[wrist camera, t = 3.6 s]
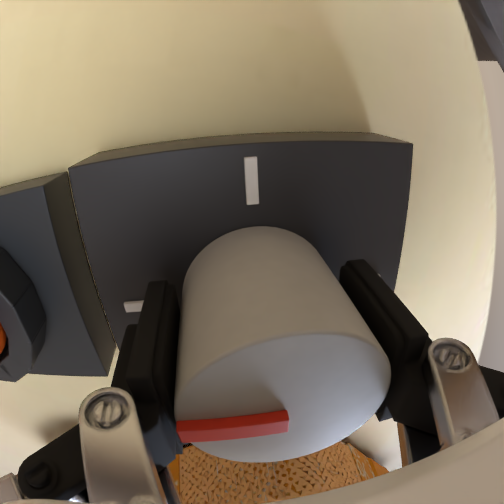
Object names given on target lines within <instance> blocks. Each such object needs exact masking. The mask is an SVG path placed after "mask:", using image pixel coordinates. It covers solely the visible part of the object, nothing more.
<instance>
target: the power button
mask: <svg viewBox="0 0 504 504" xmlns="http://www.w3.org/2000/svg"><path fill="white" fill-rule="evenodd" d="M5 345H6V333H5V331H4V329H3V327H2V325H1V323H0V354H1V352H2V351H3V349H4V347H5Z"/></svg>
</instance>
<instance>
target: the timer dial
mask: <svg viewBox="0 0 504 504" xmlns="http://www.w3.org/2000/svg"><path fill="white" fill-rule="evenodd" d="M390 382H391V367H390V362H389V360H388V357H387V355H386V354H385V352H384V351H383V349H382V347H381V346H380V344H379V343H378V341H377V339H376V338H375V336H374V335H373V333H372V332H371V330H370V329H369V327H368V326H367V324H366V322H365V321H364V319H363V318H362V316H361V315H360V313H359V312H358V310H357V309H356V307H355V306H354V304H353V303H352V301H351V300H350V298H349V297H348V295H347V294H346V292H345V291H344V289H343V288H342V286H341V285H340V283H339V282H338V280H337V279H336V277H335V276H334V275H333V273H332V272H331V270H330V269H329V267H328V266H327V264H326V263H325V261H324V260H323V259H322V257H321V256H320V254H319V253H318V251H317V250H316V249H315V248H314V247H313V246H312V245H311V244H310V243H309V242H308V241H307V240H305V239H304V238H303V237H301V236H299V235H297V234H295V233H293V232H290V231H288V230H285V229H281V228H276V227H268V226H255V227H248V228H242V229H239V230H235V231H232V232H230V233H227V234H225V235H223V236H221V237H219V238H217V239H216V240H214V241H213V242H211V243H210V244H209V245H207V246H206V247H205V248H204V249H203V250H202V251H201V252H200V253H199V254H198V255H197V256H196V258H195V259H194V260H193V262H192V263H191V265H190V267H189V269H188V271H187V273H186V276H185V279H184V284H183V291H182V301H181V311H180V323H179V334H178V347H177V361H176V377H175V395H174V417H175V420H176V432H177V434H178V436H179V438H180V441H181V442H182V443H192V444H193V445H194V446H196V447H197V448H199V449H200V450H202V451H204V452H206V453H209V454H211V455H214V456H217V457H220V458H224V459H228V460H233V461H240V462H275V461H283V460H288V459H293V458H298V457H301V456H305V455H308V454H311V453H314V452H317V451H320V450H322V449H324V448H327V447H329V446H331V445H333V444H335V443H337V442H339V441H341V440H342V439H344V438H346V437H347V436H349V435H350V434H352V433H353V432H354V431H356V430H357V429H358V428H360V427H361V426H362V425H363V424H364V423H366V422H367V421H368V420H369V419H370V418H371V417H372V416H373V414H374V413H375V412H376V411H377V409H378V408H379V407H380V405H381V404H382V402H383V401H384V399H385V397H386V395H387V392H388V390H389V386H390Z"/></svg>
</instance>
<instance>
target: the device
mask: <svg viewBox="0 0 504 504" xmlns="http://www.w3.org/2000/svg"><path fill="white" fill-rule="evenodd" d="M169 468H170V471H171V473H172V476H173V479H174V482H175V484H176V487H177V490H178V492H179V495H180V498H181V500H182V503H183V504H262V503H269V502H275V501H282V500H287V499H293V498H298V497H303V496H308V495H313V494H317V493H321V492H325V491H330V490H333V489H337V488H341V487H345V486H348V485H352V484H355V483H359V482H362V481H365V480H368V479H371V478H374V477H377V476H380V475H383V474H386V473H389V471H388V470H387V469H386V468H385V467H382V466H381V465H379V464H378V463H377V462H375V461H374V460H373V459H371V458H367V457H366V456H365V455H364V454H362V453H361V452H360V451H358V450H357V449H356V448H355V447H353V446H352V445H351V444H350V443H346V444H345V443H343V442H342V441H339V442H337V443H335V444H333V445H331V446H329V447H327V448H324V449H322V450H320V451H317V452H314V453H311V454H308V455H305V456H301V457H298V458H293V459H288V460H283V461H275V462H240V461H233V460H228V459H224V458H220V457H217V456H214V455H211V454H209V453H206V452H204V451H202V450H200V449H199V448H197V447H196V446H194V445H192V446H189V447H186V448H183V454H176V459H174V460H173V461H172V462H171V463H170V464H169Z"/></svg>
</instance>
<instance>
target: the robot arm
mask: <svg viewBox="0 0 504 504" xmlns="http://www.w3.org/2000/svg"><path fill="white" fill-rule="evenodd" d="M339 283H340V285H341V286H342V288H343V289H344V291H345V292H346V294H347V295H348V297H349V298H350V300H351V301H352V303H353V304H354V306H355V307H356V309H357V310H358V312H359V313H360V315H361V316H362V318H363V319H364V321H365V322H366V324H367V326H368V327H369V329H370V330H371V332H372V333H373V335H374V336H375V338H376V339H377V341H378V343H379V344H380V346H381V347H382V349H383V351H384V352H385V354H386V355H387V357H388V360H389V362H390V367H391V382H390V386H389V390H388V392H387V395H386V397H385V399H384V401H383V402H382V404H381V405H380V407H379V408H378V409H377V411H376V412H375V413H374V414H376V416H377V418H378V420H379V422H380V421H383V420H386V419H390V418H393V420H394V421H396V422H397V428H398V435H399V443H400V451H401V459H402V468H400V469H397V470H394V471H392V472H389V473H386V474H383V475H380V476H377V477H374V478H371V479H368V480H365V481H362V482H359V483H355V484H352V485H348V486H345V487H341V488H337V489H333V490H330V491H325V492H321V493H317V494H313V495H308V496H303V497H298V498H293V499H287V500H282V501H275V502H269V503H262V504H504V373H503V372H500V371H496V370H493V369H490V368H486V367H483V366H480V365H478V363H477V361H476V359H475V357H474V355H473V353H472V351H471V350H470V348H469V347H468V346H467V345H465V344H464V343H462V342H461V341H459V340H456V339H452V338H440V339H437V340H435V341H433V342H432V340H431V339H430V338H429V336H428V335H429V334H428V333H427V332H426V330H425V329H424V328H423V327H422V325H421V324H420V323H419V322H418V321H417V319H416V318H415V317H414V316H413V315H412V313H411V312H410V311H409V310H408V309H407V307H406V306H405V305H404V304H403V303H402V301H401V300H400V299H399V298H398V297H397V296H396V294H395V293H394V292H393V291H392V290H391V289H390V287H389V286H388V285H387V284H386V283H385V282H384V281H383V279H382V278H381V277H380V276H379V275H378V274H377V273H376V272H375V270H374V269H373V268H372V267H371V266H370V265H369V264H368V263H367V262H366V260H364V259H357V260H349V261H346V263H345V265H344V266H341V268H340V276H339ZM179 323H180V308H179V303H178V298H177V293H176V288H175V285H174V284H169V283H168V281H167V280H160V281H150V282H149V283H148V287H147V290H146V294H145V298H144V302H143V305H142V309H141V313H140V317H139V321H138V324H129V325H128V326H127V328H126V330H125V334H124V337H123V341H122V345H121V348H120V352H119V356H118V360H117V364H116V368H115V372H114V376H113V380H112V384H111V387H106V388H101V389H98V390H95V391H94V392H92V393H91V394H89V395H88V396H87V397H86V398H85V399H84V400H83V402H82V404H81V406H80V408H79V424H78V425H76V426H75V427H73V428H72V429H70V430H69V431H67V432H66V433H64V434H63V435H61V436H60V437H58V438H57V439H55V440H54V441H52V442H51V443H49V444H48V445H46V446H44V447H43V448H41V449H40V450H38V451H37V452H35V453H34V454H32V455H30V456H29V457H28V458H27V459H25V460H24V461H23V463H22V464H21V466H20V467H19V471H18V474H17V475H14V474H13V473H10V474H8V475H6V476H3V477H1V478H0V504H183V503H182V500H181V498H180V495H179V492H178V490H177V487H176V484H175V482H174V479H173V476H172V473H171V471H170V468H169V464H170V463H171V462H172V461H173V460H174V459H176V454H183V444H189V443H182V442H181V441H180V438H179V436H178V434H177V432H176V420H175V417H174V395H175V377H176V361H177V347H178V334H179Z"/></svg>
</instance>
